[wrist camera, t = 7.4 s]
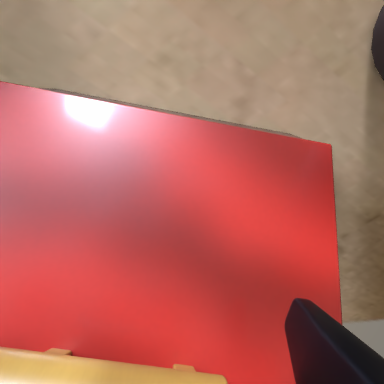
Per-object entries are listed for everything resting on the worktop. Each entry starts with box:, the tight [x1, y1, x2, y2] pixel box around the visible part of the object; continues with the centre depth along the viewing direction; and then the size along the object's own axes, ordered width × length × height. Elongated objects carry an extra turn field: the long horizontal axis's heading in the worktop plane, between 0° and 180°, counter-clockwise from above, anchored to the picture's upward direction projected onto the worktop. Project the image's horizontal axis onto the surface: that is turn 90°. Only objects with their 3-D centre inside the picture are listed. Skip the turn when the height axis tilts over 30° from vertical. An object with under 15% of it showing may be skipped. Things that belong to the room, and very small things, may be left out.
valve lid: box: [0, 81, 342, 384], centre depth 9 cm, size 12×16×5 cm
